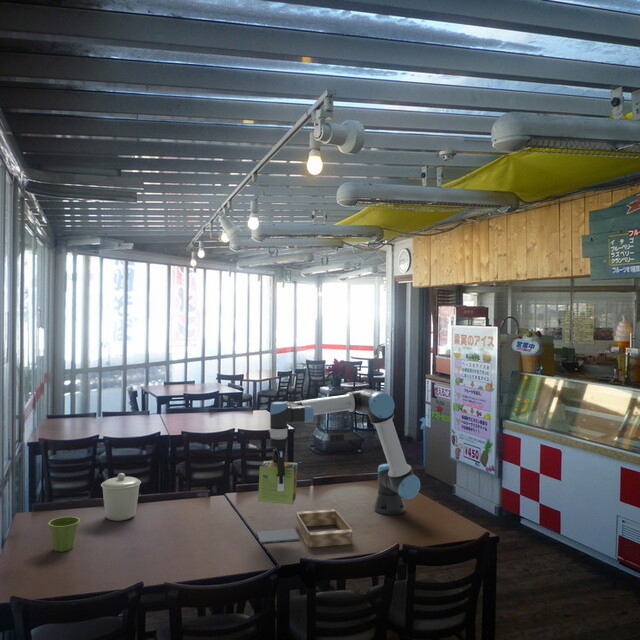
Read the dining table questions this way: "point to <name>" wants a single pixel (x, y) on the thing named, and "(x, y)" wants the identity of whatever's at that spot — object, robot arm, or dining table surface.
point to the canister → (120, 497)
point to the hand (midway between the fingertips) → (278, 486)
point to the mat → (278, 535)
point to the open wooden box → (325, 536)
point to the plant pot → (63, 532)
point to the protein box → (270, 483)
